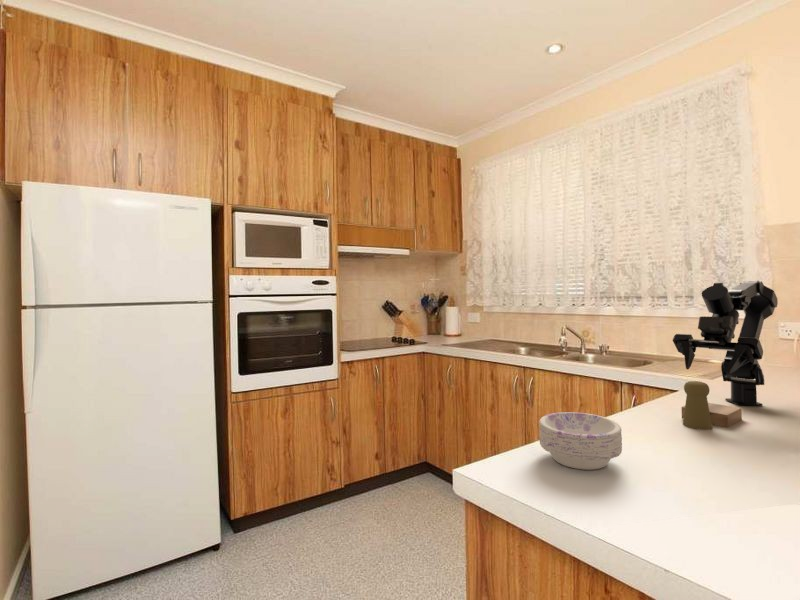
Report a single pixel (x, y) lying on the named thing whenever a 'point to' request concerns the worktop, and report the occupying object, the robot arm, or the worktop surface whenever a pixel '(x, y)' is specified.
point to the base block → (722, 414)
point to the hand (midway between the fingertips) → (707, 370)
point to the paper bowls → (580, 439)
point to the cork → (697, 406)
